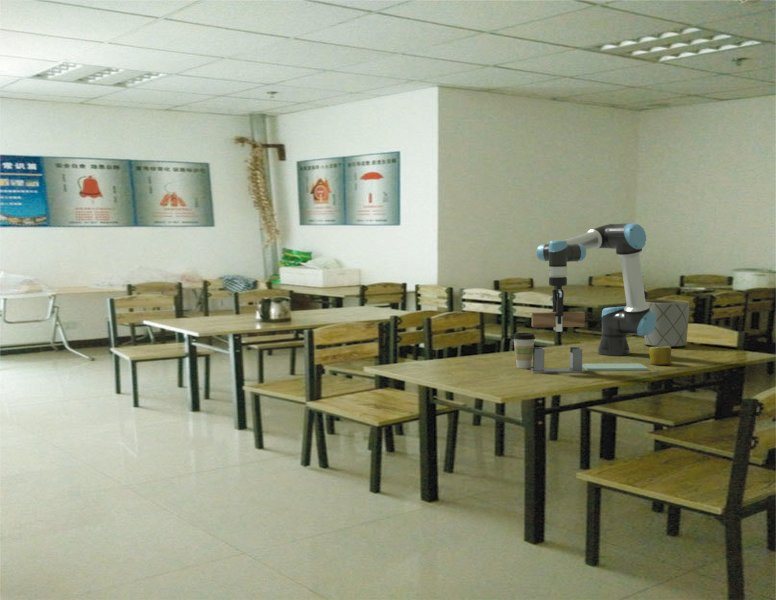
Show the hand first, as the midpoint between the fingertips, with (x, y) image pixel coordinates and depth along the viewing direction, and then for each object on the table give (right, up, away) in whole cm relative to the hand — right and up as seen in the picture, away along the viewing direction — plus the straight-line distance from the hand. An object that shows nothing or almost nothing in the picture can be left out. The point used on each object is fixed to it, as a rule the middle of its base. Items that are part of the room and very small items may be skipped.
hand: (558, 330), depth 325 cm
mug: (+50, -16, +17) cm, 55 cm away
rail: (0, +2, 0) cm, 2 cm away
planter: (+72, -11, +71) cm, 102 cm away
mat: (+26, -17, +7) cm, 32 cm away
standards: (0, -18, +1) cm, 18 cm away
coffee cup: (-13, -17, +12) cm, 24 cm away
